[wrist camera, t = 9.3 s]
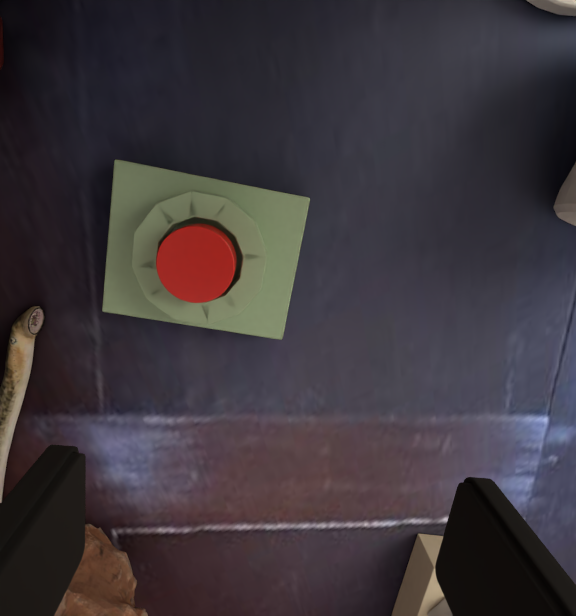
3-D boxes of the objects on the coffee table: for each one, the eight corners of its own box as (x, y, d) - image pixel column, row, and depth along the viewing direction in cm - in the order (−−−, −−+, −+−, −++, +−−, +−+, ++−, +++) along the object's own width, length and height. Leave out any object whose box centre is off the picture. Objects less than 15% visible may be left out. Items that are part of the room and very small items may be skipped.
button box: (127, 162, 23) (101, 155, 19) (305, 197, 24) (314, 198, 20) (115, 301, 25) (89, 321, 21) (280, 328, 26) (283, 351, 22)
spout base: (401, 518, 30) (416, 554, 27) (552, 535, 32) (583, 571, 29) (362, 643, 33) (372, 688, 30) (502, 654, 35) (525, 698, 32)
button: (168, 216, 20) (160, 219, 19) (242, 230, 21) (240, 234, 19) (160, 288, 21) (151, 296, 19) (230, 300, 22) (228, 309, 20)
